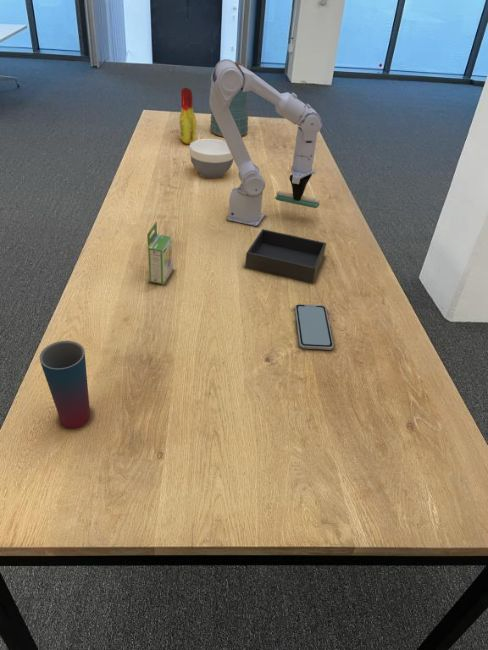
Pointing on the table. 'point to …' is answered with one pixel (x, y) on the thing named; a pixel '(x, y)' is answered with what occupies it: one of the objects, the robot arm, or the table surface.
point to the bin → (286, 255)
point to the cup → (67, 381)
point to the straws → (303, 201)
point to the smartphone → (313, 327)
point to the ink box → (159, 256)
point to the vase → (235, 112)
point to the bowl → (211, 157)
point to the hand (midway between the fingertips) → (297, 198)
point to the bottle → (187, 117)
